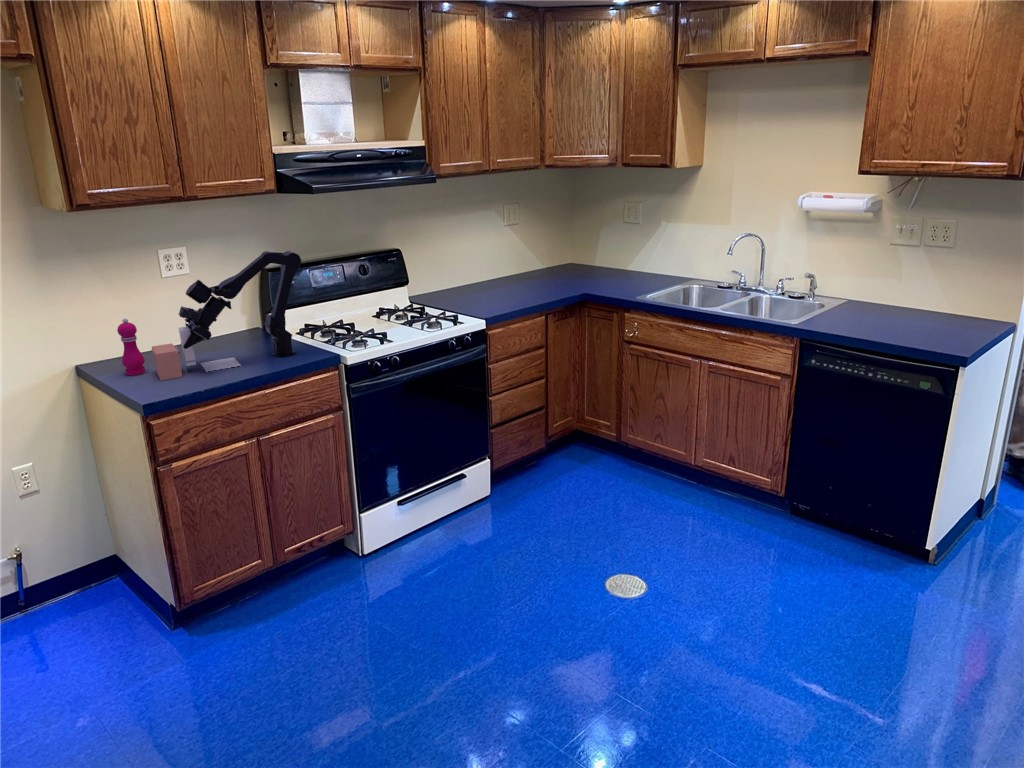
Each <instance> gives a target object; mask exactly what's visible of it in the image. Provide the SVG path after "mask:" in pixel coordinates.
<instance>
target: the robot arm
mask: <svg viewBox="0 0 1024 768" xmlns="http://www.w3.org/2000/svg"><path fill="white" fill-rule="evenodd" d="M270 264H276V265H280V278H279V283H278V288H277V291H276V296H275V300H274V304H273V305H274V306H273V309H272V311H271V313H270V314H268V313H267V314H266V315H265V321H264V323H263V325H264V326H265V327H264V328H265V330H266V332H267V333H268V334H270V335H271V336H272V337H273V338H272V344H273V353H271V355H272V356H276V357H280V358H281V357H282V358H285V357H288V356H291V355H294V354H296V353H297V351H295V350H293V344H292V337H293V334H292V333H290V332H289V331H288V330H286V326H287V325H286V322H287V321H286V311H287V307H288V301H289V298H290V293H291V291H292V290H291V289H292V284H293V279H294V278H295V276H296V274H297V273H298V271H299V270H300V267H301V265H302V258H301V256H300V254H298V253H296V252H293V251H292V250H286V251H283V252H279V251H278V252H274V251H263V252H262V253H261V254H260V255H259V256H258V257H256V258H255V259H254V260H253V261H252V262H250V263H248V265H247V266H245V267H244V268H243V269H242V270H241V271H239V272H238V273H236V274H235V275H233V276H230V277H228V278H227V279H224V280H223V281H221V282H220V283H218V285H214V286H211V287H209V286H208V285H206V284H205V283H204V282H203V281H201V280H200V279H196V281H194V282H193V283H192V284H191V285H189V287H188V288H187V289H186V291H185V295H186V296H187V297H188V298H190V299H192V300H193V301H195V302H196V303H198V304H201V305H202V304H204V305H203V307H199V308H198V309H197V310H196V309H194V308H191V307H186V306H180V309H179V312H178V316H179V317H180V318H182V319H184V321H185V323H184V324H185V327H187V326H188V328H189V329H190V335H189V337H188V339H187V341H186V342H185V344H184V346H183V348H185V349H187V348H189V347H191V346H193V347H194V346H195V345H197V344H198V343H201V342H203V341H205V340H207V341H209V340H210V339H211V338H212V332H211V331H210V329H211V328H210V327H211V326H212V324H213V323H214V322H216V321H217V320H218V316H219V315H220V314H221V312H223V310H224V309H225V308H227V309H229V310H232V309H233V308H232V301H230V300H233V299H235V298H236V297H237V296H238V295H239V294H240V292H241V291H242V289H243V288H244V286H245V285H246V284H247V283H248V282H249V281H251V280H252V279H253V278H254V277H256V276H257V274H259V273H261V271H263V270H264V269H266V267H268V266H269V265H270ZM214 295H215V296H214ZM225 299H226V300H225Z"/></svg>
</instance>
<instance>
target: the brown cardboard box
mask: <svg viewBox="0 0 1024 768" xmlns="http://www.w3.org/2000/svg"><path fill="white" fill-rule="evenodd" d="M151 352H152V358H153V362H154V367H155V371H156V374H157V376H158V378H159V379H160V381H165V380H171V379H178V378H183V372H182V366H181V360H180V354H181V351H180V350H179V348H178V347H177V346H176V345H174V344H173V343H172V342H171V343H166V344H159V345H154V346H153V345H152V346H151Z"/></svg>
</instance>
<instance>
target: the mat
mask: <svg viewBox="0 0 1024 768" xmlns="http://www.w3.org/2000/svg"><path fill="white" fill-rule="evenodd" d="M199 364H200V366H201V365H202V366H201V367H202V368H203V370H204V369H205V370H204V371H205V372H206V373H209V372H208V371H212V372H214V371H213V370H217V371H220V370H219V369H223V370H226V369H225V368H229V369H232V368H231V367H235V368H238V367H237V366H240V367H242V365H241V363H240V362H239V361H238V360H237V359H236V357H229V358H228V357H227V358H223V359H222V358H221V359H215V360H211V361H203V362H200V363H199Z"/></svg>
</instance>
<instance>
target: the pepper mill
mask: <svg viewBox="0 0 1024 768" xmlns="http://www.w3.org/2000/svg"><path fill="white" fill-rule="evenodd" d="M137 331H138V329H137V327H136V325H135V324H134V323H133V322H129V319H128V318H122V323H120V324H118V326H117V331H116V332H117V333H118V335H119V336H120V342H122V343H123V344H122V345H123V354H122V357H121V365H122V366H123V367H125V369H124V370H125V375H126V376H129V377H130V376H131V377H132V376H138V375H142V373H143V374H145V373H146V368H145V366H144V364H145V360H146V359H145V357H144V355H143V353H142V352H141V351H140V349H139V347H138V345H137V340H138V338H137Z"/></svg>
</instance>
